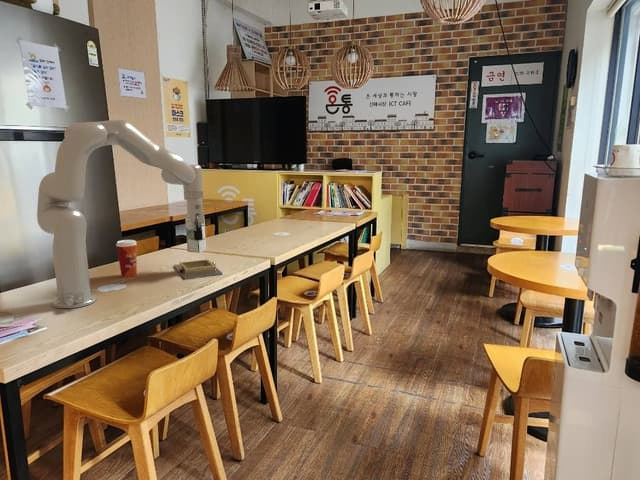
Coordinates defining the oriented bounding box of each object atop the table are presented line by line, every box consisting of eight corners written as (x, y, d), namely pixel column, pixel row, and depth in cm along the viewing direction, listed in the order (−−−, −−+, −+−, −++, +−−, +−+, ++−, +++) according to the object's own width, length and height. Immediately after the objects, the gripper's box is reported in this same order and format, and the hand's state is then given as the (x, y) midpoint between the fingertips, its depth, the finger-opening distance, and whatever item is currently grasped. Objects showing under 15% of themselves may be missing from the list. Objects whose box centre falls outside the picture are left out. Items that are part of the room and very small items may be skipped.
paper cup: (132, 278, 178) (129, 243, 175) (114, 277, 180) (111, 242, 177) (143, 273, 186) (140, 239, 183) (126, 272, 187) (123, 239, 184)
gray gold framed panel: (222, 274, 184) (222, 267, 183) (184, 279, 177) (184, 272, 176) (208, 262, 203) (208, 256, 202) (174, 266, 196) (173, 259, 196)
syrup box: (206, 249, 191) (204, 215, 188) (199, 253, 185) (197, 217, 182) (194, 249, 192) (192, 215, 189) (187, 252, 187) (184, 217, 184)
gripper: (208, 197, 178) (210, 241, 182) (198, 193, 193) (200, 233, 197) (188, 198, 175) (191, 243, 178) (179, 194, 190) (182, 235, 193)
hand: (196, 237), depth 187 cm, fingers closed on syrup box, 8 cm apart
